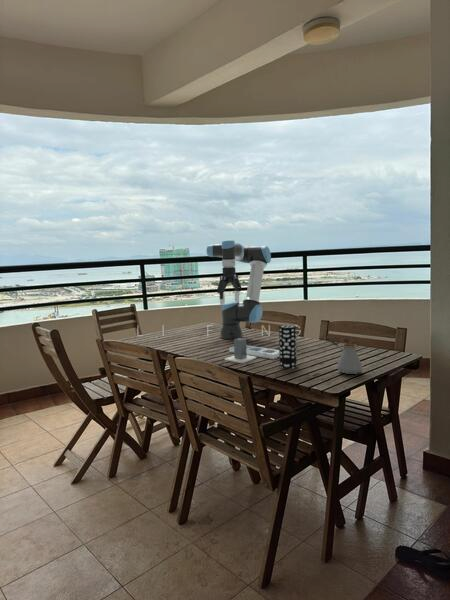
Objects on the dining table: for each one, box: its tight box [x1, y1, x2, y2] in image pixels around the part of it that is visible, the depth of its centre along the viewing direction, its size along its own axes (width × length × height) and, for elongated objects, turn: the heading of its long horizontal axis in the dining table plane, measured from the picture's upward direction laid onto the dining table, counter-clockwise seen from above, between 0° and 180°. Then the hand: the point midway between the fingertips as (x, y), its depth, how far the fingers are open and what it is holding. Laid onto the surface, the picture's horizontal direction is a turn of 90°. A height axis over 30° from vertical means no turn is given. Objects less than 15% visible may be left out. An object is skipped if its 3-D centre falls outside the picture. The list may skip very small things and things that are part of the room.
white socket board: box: [228, 344, 279, 360], centre depth 232 cm, size 30×10×2 cm, turn 50°
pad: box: [224, 355, 257, 364], centre depth 222 cm, size 12×12×1 cm
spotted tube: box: [278, 324, 298, 369], centre depth 204 cm, size 8×8×20 cm
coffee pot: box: [323, 335, 364, 374], centre depth 195 cm, size 21×12×15 cm, turn 33°
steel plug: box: [233, 337, 247, 359], centre depth 221 cm, size 5×5×10 cm
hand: (230, 303), depth 244 cm, fingers open, 13 cm apart
